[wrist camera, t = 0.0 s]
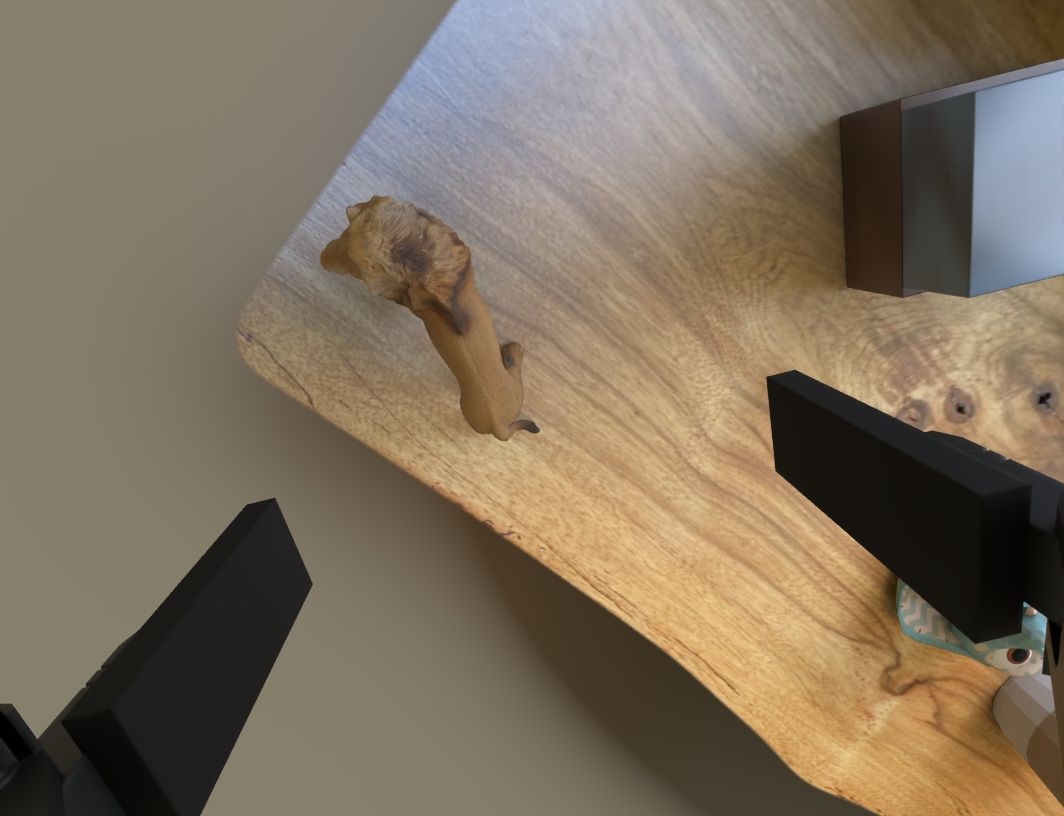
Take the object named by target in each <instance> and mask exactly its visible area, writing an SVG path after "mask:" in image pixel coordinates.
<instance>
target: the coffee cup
mask: <svg viewBox="0 0 1064 816" xmlns="http://www.w3.org/2000/svg"><path fill="white" fill-rule="evenodd" d="M992 712H993V715H994V719H995V721H996V722H997V723H998V724H999V725H1000V727H1001V731H1002V733H1003V734H1004V735H1005V736H1006V738H1007V739H1008V740H1009V741H1010V742H1011V744H1012V745H1013V746H1014V747H1015V749H1016V750H1017V751H1018V752H1019V753H1020V755H1021V756H1022V757H1023V758H1024V760H1025V761H1026V762H1027V763H1028V764H1029V766H1030V767H1031V768H1032V769H1033V771H1034V772H1035V773H1036V774H1037V775H1038V777H1039V778H1040V779H1041V780H1042V782H1043V783H1044V784H1045V785H1046V786H1047V788H1048V789H1049V790H1050V791H1051V792H1052V794H1053V795H1054V796H1055V797H1056V799H1057V800H1058V801H1059V802H1060V803H1061V805H1062V806H1063V807H1064V773H1063V766H1062V758H1061V751H1060V743H1059V736H1058V728H1057V721H1056V713H1055V706H1054V698H1053V691H1052V683H1051V676H1048V675H1044V674H1042V669H1041V670H1040V671H1038V672H1037V673H1035V674H1034V675H1032V676H1027V677H1016V676H1012V677H1010V678H1009V679H1008V680H1007V681H1006V682H1005V683H1004V685H1003V686H1002V687H1001V688H1000V689H999V691H998V693H997V695H996V697H995V698H994V702H993V708H992Z"/></svg>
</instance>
